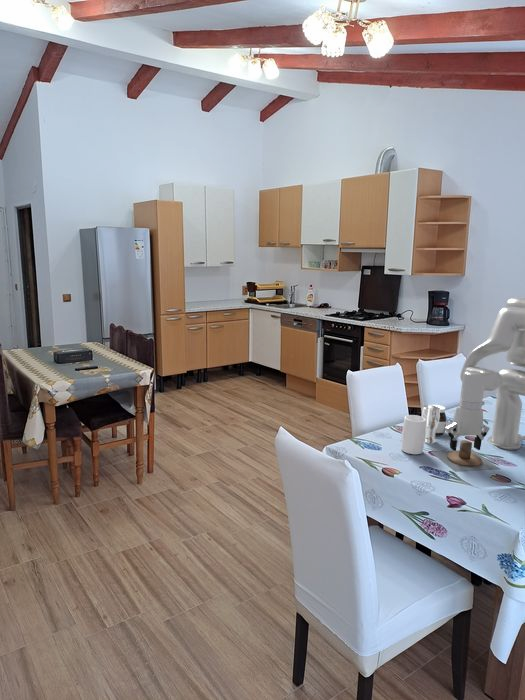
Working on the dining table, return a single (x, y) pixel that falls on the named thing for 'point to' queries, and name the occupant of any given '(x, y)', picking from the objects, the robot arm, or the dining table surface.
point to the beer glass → (431, 422)
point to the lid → (464, 455)
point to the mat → (484, 466)
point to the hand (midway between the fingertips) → (464, 449)
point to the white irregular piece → (442, 422)
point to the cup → (413, 434)
